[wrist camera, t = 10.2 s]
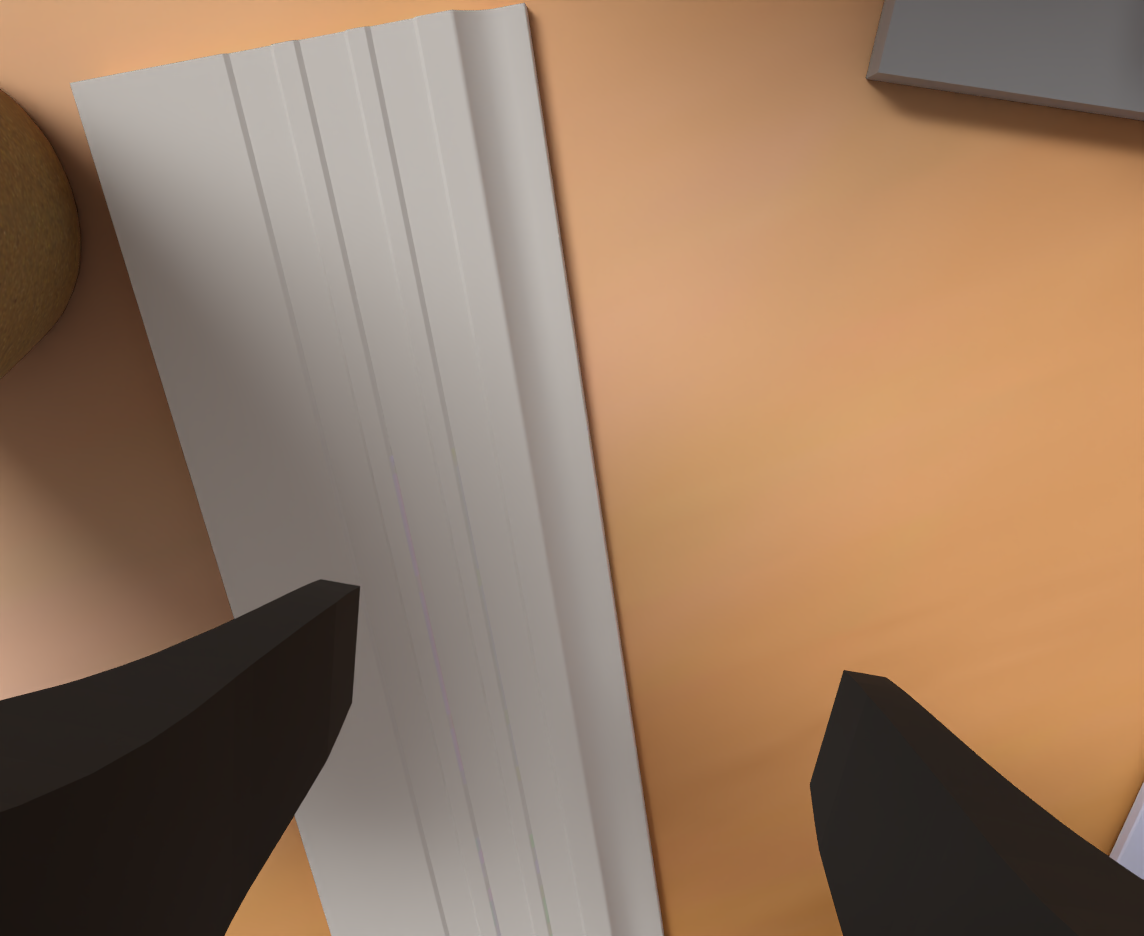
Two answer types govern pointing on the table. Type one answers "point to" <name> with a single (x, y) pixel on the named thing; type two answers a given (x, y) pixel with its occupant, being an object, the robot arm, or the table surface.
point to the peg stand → (1018, 51)
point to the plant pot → (32, 235)
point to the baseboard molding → (399, 450)
